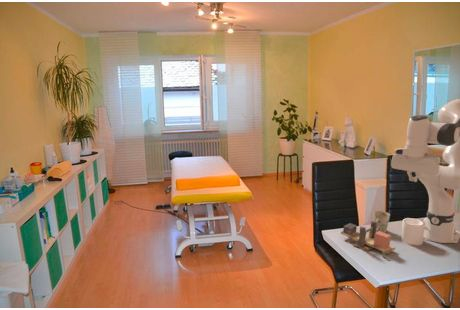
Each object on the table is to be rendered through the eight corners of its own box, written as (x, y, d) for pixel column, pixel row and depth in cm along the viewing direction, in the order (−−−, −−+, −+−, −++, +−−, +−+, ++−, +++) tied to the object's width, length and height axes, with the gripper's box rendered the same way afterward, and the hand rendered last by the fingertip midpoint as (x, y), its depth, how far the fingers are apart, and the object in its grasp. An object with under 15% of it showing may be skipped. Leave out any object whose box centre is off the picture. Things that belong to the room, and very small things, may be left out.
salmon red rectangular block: (373, 244, 174) (375, 233, 173) (377, 241, 177) (379, 230, 175) (385, 248, 170) (386, 237, 169) (389, 246, 172) (390, 235, 171)
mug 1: (390, 230, 197) (391, 213, 195) (383, 237, 188) (384, 220, 186) (375, 226, 203) (376, 210, 201) (367, 233, 193) (369, 216, 191)
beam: (339, 234, 187) (341, 222, 185) (349, 229, 192) (350, 218, 191) (387, 254, 167) (388, 241, 166) (395, 248, 173) (397, 236, 171)
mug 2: (430, 240, 184) (432, 221, 182) (430, 248, 175) (432, 228, 173) (401, 235, 191) (403, 216, 188) (400, 242, 182) (402, 223, 180)
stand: (353, 245, 179) (354, 225, 177) (366, 238, 187) (367, 218, 185) (384, 257, 167) (386, 236, 164) (397, 249, 175) (399, 228, 172)
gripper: (443, 154, 153) (440, 184, 155) (397, 147, 168) (394, 175, 171) (437, 156, 149) (434, 187, 151) (390, 149, 164) (388, 178, 167)
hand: (413, 181), depth 161 cm, fingers closed
